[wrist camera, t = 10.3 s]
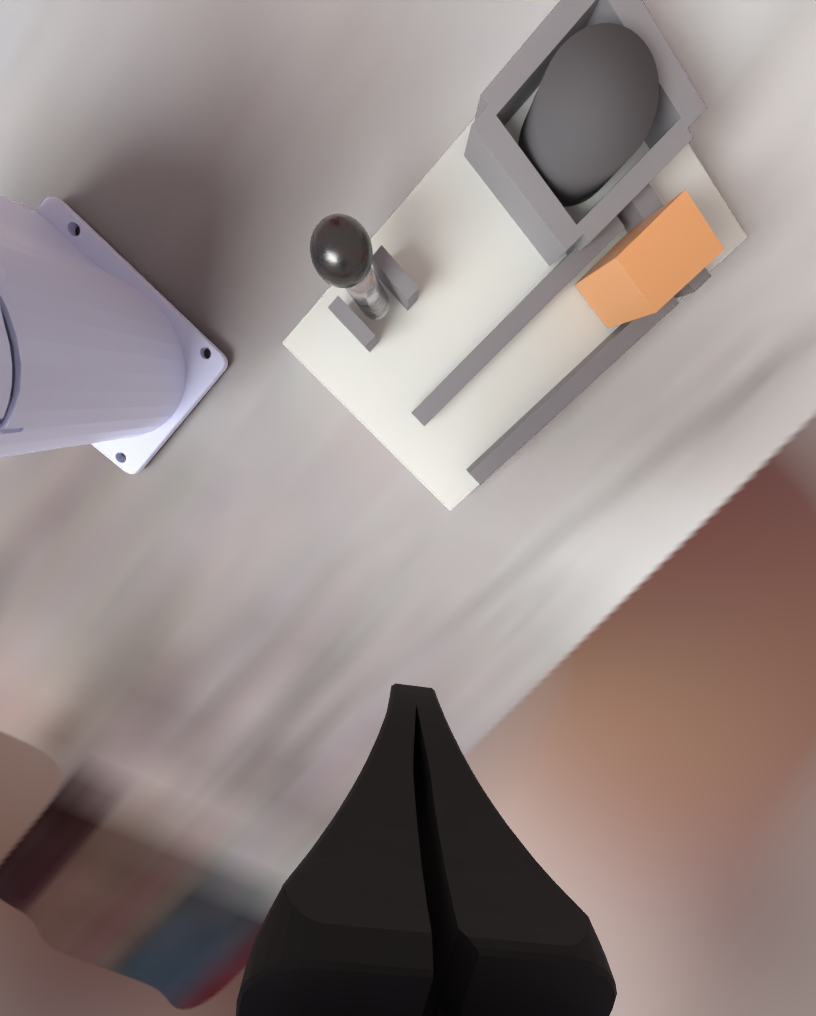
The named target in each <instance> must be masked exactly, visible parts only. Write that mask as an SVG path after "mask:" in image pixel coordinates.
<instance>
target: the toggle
mask: <svg viewBox="0 0 816 1016" xmlns="http://www.w3.org/2000/svg"><path fill="white" fill-rule="evenodd" d="M310 253H311V258H312V262H313V264H314V267H315V269H316V270H317V272H318V274H319V275H320V276H321V277H322V278H323V279H324V280H325V281H326V282H328V283H329V284H331V285H333V286H335V287H338V288H345V289H346V290H347V292H348V293H349V294H350V296H351V297H352V298H353V300H354V301H355V302H356V304H357V305H358V306H359V308H360V309H361V310H362V312H363V313H364V314H365V315H366V316H367V317H368V318H370V319H373V320H378V319H381V318H383V317H384V316H385V315H386V314H387V312H388V310H389V306H390V302H389V298H388V295H387V293H386V292H385V290H384V288H383V286H382V284H381V283H380V281H379V279H378V277H377V276H376V274H375V272H374V270H373V268H372V267H371V265H372V260H373V249H372V244H371V240H370V238H369V236H368V233H367V232H366V230H365V229H364V227H363V226H362V225H361V224H360V223H359V222H358V221H357V220H355V219H354V218H352V217H350V216H347V215H344V214H333V215H330V216H328V217H326V218H324V219H323V220H322V221H320V222H319V224H318V225H317V226H316V228H315V229H314V231H313V234H312V237H311V242H310Z"/></svg>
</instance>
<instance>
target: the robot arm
mask: <svg viewBox="0 0 816 1016" xmlns="http://www.w3.org/2000/svg"><path fill="white" fill-rule="evenodd" d="M78 226H79V227H80V234H79V235H78V236H76V233H75V229H76V227H78ZM207 348H208V349H209V350H210V351H211V356H210V358H208V359H207V358H206V357H205V356H204V351H205V349H207ZM227 366H228V361H227V357H226V356H225V355H224V354H223V353H222V352H221V351H220V350H219V349H218V348H217V347H216V346H215V345H214V344H213V343H212V342H211V341H210V340H209V339H208V338H207V337H206V336H205V335H203V334H202V333H201V332H200V331H199V330H198V329H197V328H196V327H195V326H194V325H193V324H192V323H191V322H190V321H189V320H188V319H187V318H186V317H185V316H184V315H182V314H181V313H180V312H179V311H178V310H177V309H176V308H175V307H174V306H173V305H172V304H171V303H170V302H169V301H168V300H167V299H166V298H165V297H164V296H163V295H162V294H160V293H159V292H158V291H157V290H156V289H155V288H154V287H153V286H152V285H151V284H150V283H149V282H148V281H147V280H146V279H145V278H144V277H143V276H142V275H141V274H139V273H138V272H137V271H136V270H135V269H134V268H133V267H132V266H131V265H130V264H129V263H128V262H127V261H126V260H125V259H124V258H123V257H122V256H121V255H120V254H119V253H117V252H116V251H115V250H114V249H113V248H112V247H111V246H110V245H109V244H108V243H107V242H106V241H105V240H104V239H103V238H102V237H101V236H100V235H99V234H98V233H96V232H95V231H94V230H93V229H92V228H91V227H90V226H89V225H88V224H87V223H86V222H85V221H84V220H83V219H82V218H81V217H80V216H79V215H78V214H77V213H76V212H74V211H73V210H72V209H71V208H70V207H69V206H68V205H67V204H66V203H64V202H63V201H61V200H60V199H58V198H56V197H52V196H50V197H47V198H46V199H45V200H44V201H43V202H42V204H41V205H40V207H39V208H38V210H37V212H35V211H33V210H31V209H29V208H27V207H25V206H23V205H21V204H19V203H17V202H15V201H13V200H11V199H9V198H7V197H5V196H3V195H1V194H0V458H1V457H7V456H14V455H20V454H26V453H33V452H39V451H46V450H52V449H59V448H65V447H72V446H78V445H85V444H92V445H93V446H94V447H95V448H97V449H98V450H99V451H100V452H101V453H103V454H104V455H105V456H106V457H108V458H109V459H110V460H111V461H112V462H114V463H115V464H116V465H117V466H119V467H120V468H121V469H122V470H123V471H125V472H127V473H129V474H135V473H138V472H140V471H142V470H143V469H144V467H145V466H146V465H147V464H148V463H149V461H150V460H151V459H152V458H153V457H154V455H155V454H156V453H157V452H158V451H159V449H160V448H161V447H162V446H163V444H164V443H165V442H166V441H167V440H168V438H169V437H170V436H171V435H172V434H173V432H174V431H175V430H176V429H177V428H178V426H179V425H180V424H181V423H182V422H183V420H184V419H185V418H186V417H187V416H188V414H189V413H190V412H191V411H192V410H193V408H194V407H195V406H196V405H197V404H198V402H199V401H200V400H201V399H202V398H203V396H204V395H205V394H206V393H207V392H208V390H209V389H210V388H211V387H212V386H213V384H214V383H215V382H216V381H217V380H218V378H219V377H220V376H221V375H222V374H223V372H224V371H225V370H226V368H227ZM122 453H123V454H124V455H125V456H126V461H124V460H123V459H122V458H121V454H122ZM616 995H617V991H616V984H615V981H614V978H613V975H612V972H611V970H610V967H609V964H608V962H607V959H606V956H605V954H604V951H603V949H602V946H601V944H600V942H599V940H598V937H597V935H596V933H595V931H594V929H593V926H592V924H591V922H590V919H589V917H588V916H587V915H586V914H585V913H584V912H583V911H582V910H581V909H580V908H579V907H578V906H577V904H576V903H575V902H574V901H573V900H572V899H571V898H570V897H569V896H568V895H566V893H565V892H564V891H563V890H562V889H561V888H560V887H559V886H558V885H557V884H556V883H555V882H554V881H553V880H552V879H551V877H550V876H549V875H548V874H547V873H546V872H545V871H544V870H543V868H542V867H541V866H540V865H539V864H538V863H537V862H536V861H535V859H534V858H533V857H532V856H531V854H530V853H529V852H528V851H527V849H526V848H525V847H524V845H523V844H522V843H521V842H520V841H519V839H518V838H517V837H516V835H515V834H514V833H513V832H512V830H511V829H510V828H509V826H508V825H507V824H506V823H505V821H504V820H503V818H502V817H501V815H500V814H499V812H498V811H497V810H496V808H495V807H494V805H493V804H492V802H491V801H490V799H489V798H488V797H487V795H486V793H485V792H484V790H483V789H482V787H481V785H480V784H479V782H478V780H477V779H476V777H475V775H474V774H473V772H472V770H471V769H470V767H469V765H468V763H467V761H466V759H465V758H464V756H463V754H462V752H461V750H460V748H459V746H458V744H457V742H456V740H455V738H454V736H453V734H452V732H451V730H450V728H449V725H448V723H447V721H446V719H445V716H444V714H443V712H442V709H441V707H440V704H439V702H438V699H437V696H436V693H435V691H434V690H433V689H432V688H426V687H418V686H410V685H402V684H394V685H393V686H391V692H390V698H389V703H388V709H387V713H386V716H385V719H384V721H383V724H382V727H381V729H380V732H379V735H378V737H377V739H376V742H375V744H374V746H373V748H372V750H371V752H370V755H369V757H368V759H367V761H366V763H365V765H364V767H363V769H362V771H361V773H360V775H359V776H358V778H357V780H356V782H355V784H354V785H353V787H352V789H351V791H350V792H349V794H348V795H347V797H346V799H345V800H344V802H343V804H342V805H341V807H340V809H339V810H338V812H337V813H336V815H335V816H334V818H333V819H332V821H331V822H330V824H329V825H328V826H327V828H326V829H325V831H324V832H323V834H322V835H321V836H320V838H319V839H318V841H317V842H316V843H315V845H314V846H313V848H312V849H311V850H310V852H309V853H308V854H307V855H306V857H305V858H304V859H303V860H302V862H301V863H300V864H299V865H298V867H297V868H296V869H295V870H294V872H293V873H292V874H291V875H290V877H289V878H288V879H287V880H286V882H285V883H284V884H283V886H282V888H281V890H280V892H279V894H278V896H277V898H276V899H275V901H274V903H273V905H272V907H271V909H270V911H269V913H268V915H267V916H266V918H265V920H264V922H263V924H262V927H261V929H260V931H259V933H258V935H257V937H256V940H255V942H254V944H253V947H252V949H251V952H250V955H249V958H248V961H247V964H246V968H245V972H244V976H243V979H242V983H241V987H240V991H239V995H238V999H237V1008H236V1016H609V1015H610V1013H611V1011H612V1008H613V1005H614V1002H615V998H616Z"/></svg>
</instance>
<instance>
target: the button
mask: <svg viewBox="0 0 816 1016" xmlns="http://www.w3.org/2000/svg"><path fill="white" fill-rule="evenodd" d="M658 99H659V78H658V71H657V67H656V63H655V61H654V58H653V55H652V53H651V51H650V49H649V48H648V46H647V45H646V43H645V42H644V41H643V40H642V39H641V38H640V37H639V36H638V34H636V33H635V32H633V31H632V30H631V29H629V28H627V27H625V26H622V25H618V24H614V23H599V24H595V25H591V26H589V27H586V28H584V29H582V30H580V31H578V32H577V33H575V34H574V35H573V36H571V37H570V38H569V39H568V40H567V41H566V42H565V43H564V44H563V45H562V46H561V47H560V48H559V49H558V51H557V52H556V53H555V55H554V57H553V58H552V60H551V61H550V63H549V65H548V67H547V70H546V72H545V74H544V76H543V79H542V81H541V83H540V86H539V88H538V90H537V92H536V95H535V97H534V99H533V102H532V104H531V106H530V109H529V111H528V113H527V115H526V118H525V120H524V122H523V125H522V128H521V132H520V136H519V142H518V146H519V147H520V148H521V150H522V151H523V153H524V154H525V155H526V157H527V158H528V159H529V161H530V162H531V163H532V165H533V166H534V168H535V169H536V170H537V172H538V173H539V174H540V176H541V177H542V178H543V180H544V181H545V183H546V184H547V185H548V187H549V188H550V189H551V191H552V192H553V193H554V195H555V196H556V198H557V199H558V200H559V202H560V203H561V204H562V206H563V207H569V206H574V205H577V204H580V203H582V202H584V201H586V200H588V199H589V198H591V197H592V196H594V195H595V194H596V193H597V192H598V191H599V190H600V189H601V188H602V187H603V186H604V185H605V184H606V183H607V182H608V181H609V180H610V178H611V177H612V176H613V175H614V174H615V173H616V172H617V171H618V170H619V169H620V168H621V167H622V166H623V165H624V164H625V163H626V162H627V161H628V159H629V158H630V157H631V156H632V155H633V154H634V153H635V152H636V151H637V150H638V148H639V147H640V146H641V144H642V143H643V141H644V140H645V138H646V136H647V135H648V133H649V131H650V128H651V126H652V124H653V121H654V118H655V115H656V111H657V106H658Z"/></svg>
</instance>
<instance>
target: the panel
mask: <svg viewBox="0 0 816 1016" xmlns="http://www.w3.org/2000/svg"><path fill="white" fill-rule="evenodd" d="M599 23H614V24H618V25H622V26H625V27H627V28H629V29H631V30H632V31H633V32H635V33H636V34H638V36H639V37H640V38H641V39H642V40H643V41H644V42H645V43H646V45H647V46H648V48H649V49H650V51H651V53H652V55H653V58H654V61H655V63H656V67H657V71H658V78H659V99H658V106H657V111H656V115H655V118H654V121H653V124H652V126H651V128H650V131H649V133H648V135H647V136H646V138H645V140H644V141H643V143H642V144H641V146H640V147H639V148H638V150H637V151H636V152H635V153H634V154H633V155H632V156H631V157H630V158H629V159H628V161H627V162H626V163H625V164H624V165H623V166H622V167H621V168H620V169H619V170H618V171H617V172H616V173H615V174H614V175H613V176H612V177H611V178H610V180H609V181H608V182H607V183H606V184H605V185H604V186H603V187H602V188H601V189H600V190H599V191H598V192H597V193H596V194H595V195H594V196H592V197H591V198H589V199H588V200H586V201H584V202H582V203H580V204H577V205H574V206H569V207H563V206H562V204H561V203H560V202H559V200H558V199H557V198H556V196H555V195H554V193H553V192H552V191H551V189H550V188H549V187H548V185H547V184H546V183H545V181H544V180H543V178H542V177H541V176H540V174H539V173H538V172H537V170H536V169H535V168H534V166H533V165H532V163H531V162H530V161H529V159H528V158H527V157H526V155H525V154H524V153H523V151H522V150H521V148H520V147H519V146H518V142H519V136H520V132H521V128H522V125H523V122H524V120H525V118H526V115H527V113H528V111H529V109H530V106H531V104H532V102H533V99H534V97H535V95H536V92H537V90H538V88H539V86H540V83H541V81H542V79H543V76H544V74H545V72H546V70H547V67H548V65H549V63H550V61H551V60H552V58H553V57H554V55H555V53H556V52H557V51H558V49H559V48H560V47H561V46H562V45H563V44H564V43H565V42H566V41H567V40H568V39H569V38H570V37H571V36H573V35H574V34H575V33H577V32H578V31H580V30H582V29H584V28H586V27H589V26H591V25H595V24H599ZM706 108H707V107H706V105H705V104H704V102H703V100H702V99H701V97H700V96H699V94H698V92H697V91H696V89H695V87H694V86H693V84H692V82H691V81H690V79H689V77H688V76H687V74H686V72H685V71H684V69H683V67H682V66H681V64H680V62H679V61H678V59H677V57H676V56H675V54H674V53H673V51H672V49H671V48H670V46H669V44H668V43H667V41H666V39H665V38H664V36H663V34H662V33H661V31H660V29H659V28H658V26H657V24H656V23H655V21H654V19H653V18H652V16H651V14H650V13H649V11H648V10H647V8H646V6H645V5H644V3H643V1H642V0H561V1H560V2H559V3H558V4H557V5H556V6H555V8H554V9H553V10H552V11H551V12H550V14H549V15H548V16H547V17H546V18H545V19H544V21H543V22H542V23H541V24H540V25H539V27H538V28H537V29H536V30H535V31H534V32H533V34H532V35H531V36H530V37H529V38H528V39H527V41H526V42H525V43H524V44H523V45H522V47H521V48H520V49H519V50H518V51H517V52H516V54H515V55H514V56H513V57H512V58H511V60H510V61H509V62H508V63H507V64H506V65H505V67H504V68H503V69H502V70H501V71H500V73H499V74H498V75H497V76H496V77H495V78H494V80H493V81H492V82H491V83H490V84H489V86H488V87H487V88H486V89H485V90H484V91H483V93H482V94H481V96H480V100H479V104H478V108H477V112H476V116H475V118H474V119H473V120H472V121H471V123H470V124H469V125H468V126H467V127H466V128H465V130H464V131H463V132H462V133H461V134H460V135H459V137H458V138H457V139H456V140H455V141H454V142H453V144H452V145H451V146H450V147H449V148H448V149H447V151H446V152H445V153H444V154H443V155H442V156H441V158H440V159H439V160H438V161H437V162H436V163H435V165H434V166H433V167H432V168H431V169H430V171H429V172H428V173H427V174H426V175H425V176H424V178H423V179H422V180H421V181H420V182H419V183H418V185H417V186H416V187H415V188H414V189H413V190H412V192H411V193H410V194H409V195H408V196H407V197H406V199H405V200H404V201H403V202H402V203H401V204H400V206H399V207H398V208H397V209H396V210H395V211H394V213H393V214H392V215H391V216H390V217H389V218H388V220H387V221H386V222H385V223H384V224H383V225H382V227H381V228H380V229H379V230H378V231H377V233H376V234H375V235H374V236H373V237H372V238H371V244H372V249H373V260H372V265H371V267H372V268H373V270H374V272H375V274H376V276H377V277H378V279H379V281H380V283H381V284H382V286H383V288H384V290H385V292H386V293H387V295H388V298H389V302H390V306H389V310H388V312H387V314H386V315H385V316H384V317H383V318H381V319H378V320H373V319H370V318H368V317H367V316H366V315H365V314H364V313H363V312H362V310H361V309H360V308H359V306H358V305H357V304H356V302H355V301H354V300H353V298H352V297H351V296H350V294H349V293H348V292H347V290H346V289H345V288H338V287H335V286H333V285H331V286H330V287H329V289H328V290H327V291H326V292H325V293H324V295H323V296H322V297H321V298H320V299H319V300H318V302H317V303H316V304H315V305H314V306H313V307H312V309H311V310H310V311H309V312H308V313H307V314H306V316H305V317H304V318H303V319H302V320H301V321H300V323H299V324H298V325H297V326H296V327H295V328H294V330H293V331H292V332H291V333H290V334H289V335H288V337H287V338H286V339H285V340H284V341H283V342H282V344H283V345H284V346H285V347H286V348H287V349H288V350H289V351H290V352H291V353H292V354H293V355H294V356H295V357H296V358H297V359H298V360H299V361H300V362H301V363H302V364H303V365H304V366H305V367H306V368H307V369H308V370H309V371H310V372H311V373H312V374H313V375H314V376H315V377H316V378H317V379H318V380H319V381H320V382H321V383H322V384H323V385H324V386H325V387H326V388H327V389H328V390H329V391H330V392H331V393H332V394H333V395H334V396H335V397H336V398H337V399H338V400H339V401H340V402H341V403H342V404H343V405H344V406H345V407H346V408H347V409H348V410H349V411H350V412H351V413H352V414H353V415H354V416H355V417H356V418H357V419H358V420H359V421H360V422H361V423H362V424H363V425H364V426H365V427H366V428H367V429H368V430H369V431H370V432H371V433H372V434H373V435H374V436H375V437H376V438H377V439H378V440H379V441H380V442H381V443H382V444H383V445H384V446H385V447H386V448H387V449H388V450H389V451H390V452H391V453H392V454H393V455H394V456H395V457H396V458H397V459H398V460H399V461H400V462H401V463H402V464H403V465H404V466H405V467H406V468H407V469H408V470H409V471H410V472H411V473H412V474H413V475H414V476H415V477H416V478H417V479H418V480H419V481H420V482H421V483H422V484H423V485H424V486H425V487H426V488H427V489H428V490H429V491H430V492H431V493H432V494H433V495H434V496H435V497H436V498H437V499H438V500H439V501H440V502H441V503H442V504H443V505H444V506H445V507H446V508H447V509H448V510H449V511H451V510H452V509H453V508H454V507H455V506H456V505H457V504H458V503H459V502H460V501H461V500H463V499H464V498H465V497H466V496H467V495H468V494H469V493H470V492H471V491H472V490H473V489H474V488H476V487H477V486H478V485H479V484H480V485H481V484H482V483H483V482H484V481H485V480H486V479H488V478H489V477H490V476H491V475H492V474H493V473H494V472H495V471H496V470H497V469H498V468H499V467H501V466H502V465H503V464H504V463H505V462H506V461H507V460H508V459H509V458H510V457H511V456H513V455H514V454H515V453H516V452H517V451H518V450H519V449H520V448H521V447H522V446H523V445H525V444H526V443H527V442H528V441H529V440H530V439H531V438H532V437H533V436H534V435H535V434H537V433H538V432H539V431H540V430H541V429H542V428H543V427H544V426H545V425H546V424H547V423H548V422H550V421H551V420H552V419H553V418H554V417H555V416H556V415H557V414H558V413H559V412H560V411H562V410H563V409H564V408H565V407H566V406H567V405H568V404H569V403H570V402H571V401H572V400H574V399H575V398H576V397H577V396H578V395H579V394H580V393H581V392H582V391H583V390H584V389H586V388H587V387H588V386H589V385H590V384H591V383H592V382H593V381H594V380H595V379H596V378H598V377H599V376H600V375H601V374H602V373H603V372H604V371H605V370H606V369H607V368H608V367H609V366H611V365H612V364H613V363H614V362H615V361H616V360H617V359H618V358H619V357H620V356H621V355H623V354H624V353H625V352H626V351H627V350H628V349H629V348H630V347H631V346H632V345H633V344H635V343H636V342H637V341H638V340H639V339H640V338H641V337H642V336H643V335H644V334H645V333H647V332H648V331H649V330H650V329H651V328H652V327H653V326H654V325H655V324H656V323H657V322H658V321H660V320H661V319H662V318H663V317H664V316H665V315H666V314H667V313H668V312H669V311H670V310H672V309H673V308H674V307H675V306H676V305H677V304H678V301H679V300H680V299H681V298H682V297H683V296H684V295H686V294H689V293H692V292H694V291H695V290H697V289H698V288H699V287H700V286H701V285H702V284H703V283H704V282H705V281H706V280H707V279H709V278H710V277H711V275H710V274H709V272H710V271H712V270H713V269H714V268H715V267H716V266H717V265H718V264H719V263H720V262H721V261H722V260H724V259H725V258H726V257H727V256H728V255H729V254H730V253H731V252H732V251H733V250H734V249H735V248H737V247H738V246H739V245H740V244H741V243H742V242H743V241H744V240H745V239H746V238H747V236H746V234H745V233H744V231H743V230H742V228H741V226H740V225H739V223H738V222H737V220H736V218H735V217H734V215H733V214H732V212H731V210H730V209H729V207H728V206H727V204H726V202H725V201H724V199H723V198H722V196H721V195H720V193H719V191H718V190H717V188H716V187H715V185H714V183H713V182H712V180H711V179H710V177H709V175H708V174H707V172H706V171H705V169H704V168H703V166H702V164H701V163H700V161H699V160H698V158H697V156H696V155H695V153H694V152H693V150H692V148H691V147H690V145H689V144H688V143H689V142H690V141H691V140H692V139H693V138H694V137H693V136H692V134H691V133H690V131H689V129H688V127H689V126H690V125H691V124H692V123H693V122H694V121H695V120H696V119H697V118H698V117H699V116H700V115H701V114H702V113H703V112H704V111H705V109H706ZM684 190H686V191H687V192H688V194H689V195H690V197H691V198H692V200H693V201H694V203H695V205H696V206H697V208H698V209H699V211H700V212H701V214H702V215H703V217H704V218H705V220H706V221H707V223H708V225H709V226H710V228H711V229H712V231H713V232H714V234H715V235H716V237H717V238H718V240H719V242H720V243H721V245H722V246H723V248H724V250H723V251H722V252H721V253H720V254H719V255H718V256H717V257H716V258H715V259H713V260H712V261H711V262H710V263H709V264H708V265H707V266H706V267H705V268H704V269H703V270H702V271H700V272H699V273H698V274H697V275H696V276H695V277H694V278H693V279H692V280H691V281H690V282H689V283H687V284H686V285H685V286H684V287H683V288H682V289H681V290H680V291H679V292H678V293H677V294H676V295H674V296H673V297H672V298H671V299H670V300H669V301H668V302H667V303H666V304H665V305H664V306H663V307H662V308H660V309H659V310H658V311H657V312H656V313H653V314H650V315H647V316H644V317H641V318H638V319H635V320H632V321H629V322H626V323H623V324H620V325H617V326H614V327H611V328H607V327H606V326H605V324H604V323H603V322H602V321H601V319H600V318H599V317H598V315H597V314H596V313H595V311H594V310H593V309H592V307H591V306H590V305H589V304H588V302H587V301H586V300H585V298H584V297H583V296H582V294H581V293H580V292H579V290H578V289H577V288H576V287H575V284H576V283H577V282H578V281H579V280H580V279H581V278H582V277H583V276H584V275H585V274H586V273H587V272H588V271H589V270H590V269H591V268H592V267H593V266H594V265H595V264H596V263H597V262H598V261H599V260H600V259H601V258H602V257H603V256H604V255H605V254H606V253H607V252H608V251H609V250H610V249H611V248H612V247H613V246H614V245H615V244H616V243H617V242H618V241H619V240H620V239H621V238H622V237H623V236H624V235H625V234H626V233H627V232H628V231H630V230H631V229H632V228H634V227H635V226H636V225H638V224H639V223H641V222H642V221H643V220H645V219H646V218H647V217H649V216H650V215H651V214H653V213H654V212H656V211H657V210H658V209H660V208H661V207H662V206H664V205H665V204H666V203H668V202H669V201H671V200H672V199H673V198H675V197H676V196H677V195H679V194H680V193H681V192H683V191H684Z"/></svg>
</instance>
